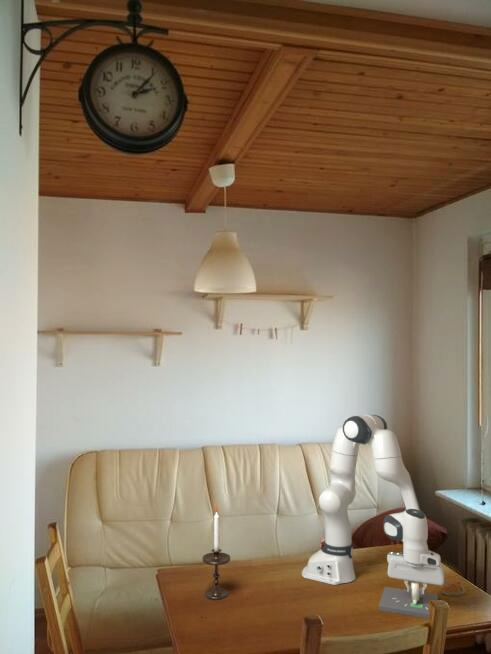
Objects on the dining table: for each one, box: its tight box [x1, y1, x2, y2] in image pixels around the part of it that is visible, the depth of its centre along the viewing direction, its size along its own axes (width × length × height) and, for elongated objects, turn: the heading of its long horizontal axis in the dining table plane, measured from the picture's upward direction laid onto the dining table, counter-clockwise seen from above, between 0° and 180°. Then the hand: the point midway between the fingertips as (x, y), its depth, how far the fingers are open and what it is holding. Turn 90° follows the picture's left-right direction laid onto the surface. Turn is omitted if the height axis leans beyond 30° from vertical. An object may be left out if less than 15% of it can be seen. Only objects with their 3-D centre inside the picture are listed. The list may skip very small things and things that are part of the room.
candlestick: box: [202, 503, 231, 601], centre depth 214 cm, size 11×11×35 cm
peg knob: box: [410, 581, 423, 604], centre depth 205 cm, size 10×4×7 cm, turn 154°
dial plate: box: [378, 586, 439, 620], centre depth 205 cm, size 20×18×2 cm
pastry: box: [440, 581, 467, 597], centre depth 215 cm, size 9×7×4 cm
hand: (415, 592), depth 203 cm, fingers open, 3 cm apart
